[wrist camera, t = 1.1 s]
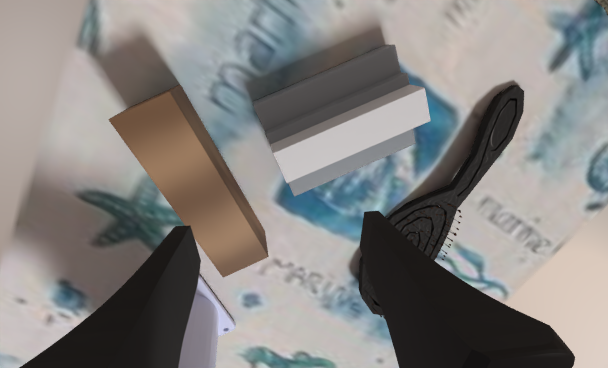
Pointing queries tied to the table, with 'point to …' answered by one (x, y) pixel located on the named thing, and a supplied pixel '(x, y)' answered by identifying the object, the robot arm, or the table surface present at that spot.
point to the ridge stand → (342, 118)
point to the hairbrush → (453, 187)
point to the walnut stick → (193, 178)
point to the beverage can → (603, 4)
